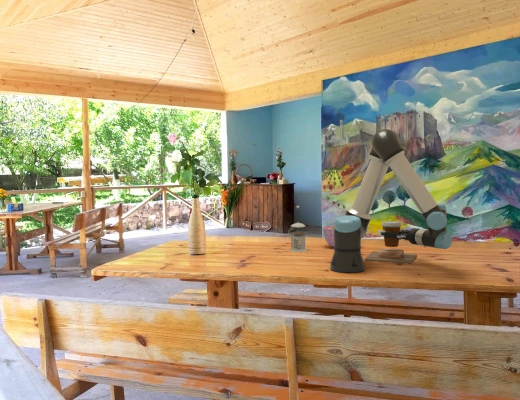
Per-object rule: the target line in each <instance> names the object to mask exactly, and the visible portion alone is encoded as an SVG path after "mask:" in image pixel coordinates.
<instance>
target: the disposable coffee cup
mask: <svg viewBox="0 0 520 400" xmlns="http://www.w3.org/2000/svg"><path fill="white" fill-rule="evenodd" d="M381 226H382V230H383V231H386V230H387V231H388V232H398V233H399V232H400V230H401V227H402V223H401V221H396V220H389V221H388V220H385V221H382V223H381ZM383 239H384V240H383V241H384V247H385V248H386V247H387V248H398V247H399V241H400V240H399V239H393V238H384V237H383Z"/></svg>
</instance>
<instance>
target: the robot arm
mask: <svg viewBox="0 0 520 400" xmlns="http://www.w3.org/2000/svg"><path fill="white" fill-rule="evenodd" d="M402 144H403V143H402V138H401V137H400V135H399V134H398V133H397V132H395V131H393V130H392V129H389V128H383V129H380V130H378V131H377V132H376V133H374V134H373V136H372V139H371V149H370V151H369V154H368V157H369V158H370V161H369V162H368V163H369V164H368V166H367V168H366V170H365V172H364V176H363V178H362V180H361V183H360V185H359V188H358V191H357V192H356V195H355V198H354V201H353V203H352V206H351V207H350V208H348V209H347V210H346V212H345V215H342V216H337V217H335V219H334V220H333V222H334V223H333V225H334V248H333V255H332V256H331V257H332V258H331V261H330V264H329V265H330V270H331V271H332V272H333V271H334V272H338V273H345V272H354V273H361V272H364V271H365V270H366V264H365V261H364V258H363V254H362V252H361V251H362V250H361V249H362V248H361V247H362V246H361V245H362V240H361V239H363V238H364V237H365V235H366V234H367V232H368V226H369V224H370V221H371V218H372V217H371V216H370V213H371V210H372V208H373V205H374V202H375V200H376V198H377V196H378V194H379V190H380V189H381V187H382V183H383V181H384V179H385V176H386V174H387V171H388V169H389V168H390V169H391V171H392V172H393V174H394V176H395V178H396V179H397V180H398V182H399V183H400V184H401V185H402V187H403V189H404V190H405V191H406V193H407V194H408V196H409V198H410V199H411V201H412V203H414V205H415V206H416V208H417V210H418V211H419V213H420V214H421V215H422V217H423V218H424V220H425V221H426V225H427V229H424V228H418V227H417V228H416V227H414V228H412V229H400V232H399V233H398V232H388V231H387V230H386V231H383V229H381V230H380V229H377V232H376V234H377V236H378V237H383V239H384V238H393V239H399V241H400V240H405V241H408V242H409V243H410V244H411V245H417V246H421V247H424V248H426V247H427V248H428V247H429V248H435V249H441V250H447V249H449V248H450V247H451V246H452V244H453V236H452V234H451V233H450V232H448V231H447V223H448V218H447V205H446V204H445V203H444V204H443V203H437V202H436V200H435V199H434V197H433V196H432V194H431V193H430V191H429V190H428V188H427V186H426V185H425V184H424V183H423V182H424V181H422V179H421V178H420V176H419V175H418V173H417V172H416V171H415V169H414V168H413V165H411V163H410V161H409V160H408V158H407V157H406V156H405V150H404V148H403V145H402Z"/></svg>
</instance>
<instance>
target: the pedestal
mask: <svg viewBox="0 0 520 400" xmlns="http://www.w3.org/2000/svg"><path fill="white" fill-rule="evenodd" d="M417 256H418V254H417V253H409V252H404V249H400V248H396V247H387V248H386V247H384V248H379V249H378V251H377V250H376V251H375V250H374V251H371V252H370V253H369V254H368V255H367V256H366V257H365V258H363V261H364V262H373V261H377V262H376V263H387V262H392V264H402V263H411V264H410V265H412V264H413V263H414V261H415V260H416V258H417ZM415 257H416V258H415ZM414 259H415V260H414ZM378 261H379V262H378ZM394 262H395V263H394ZM412 262H413V263H412Z"/></svg>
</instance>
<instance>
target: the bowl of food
mask: <svg viewBox="0 0 520 400" xmlns="http://www.w3.org/2000/svg"><path fill="white" fill-rule="evenodd" d="M322 231H323V235H324V239H325V241H326V243H327V244H328V245H329V246H331V247H332V248H333V249H334V224H332V225H325V226H322Z"/></svg>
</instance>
